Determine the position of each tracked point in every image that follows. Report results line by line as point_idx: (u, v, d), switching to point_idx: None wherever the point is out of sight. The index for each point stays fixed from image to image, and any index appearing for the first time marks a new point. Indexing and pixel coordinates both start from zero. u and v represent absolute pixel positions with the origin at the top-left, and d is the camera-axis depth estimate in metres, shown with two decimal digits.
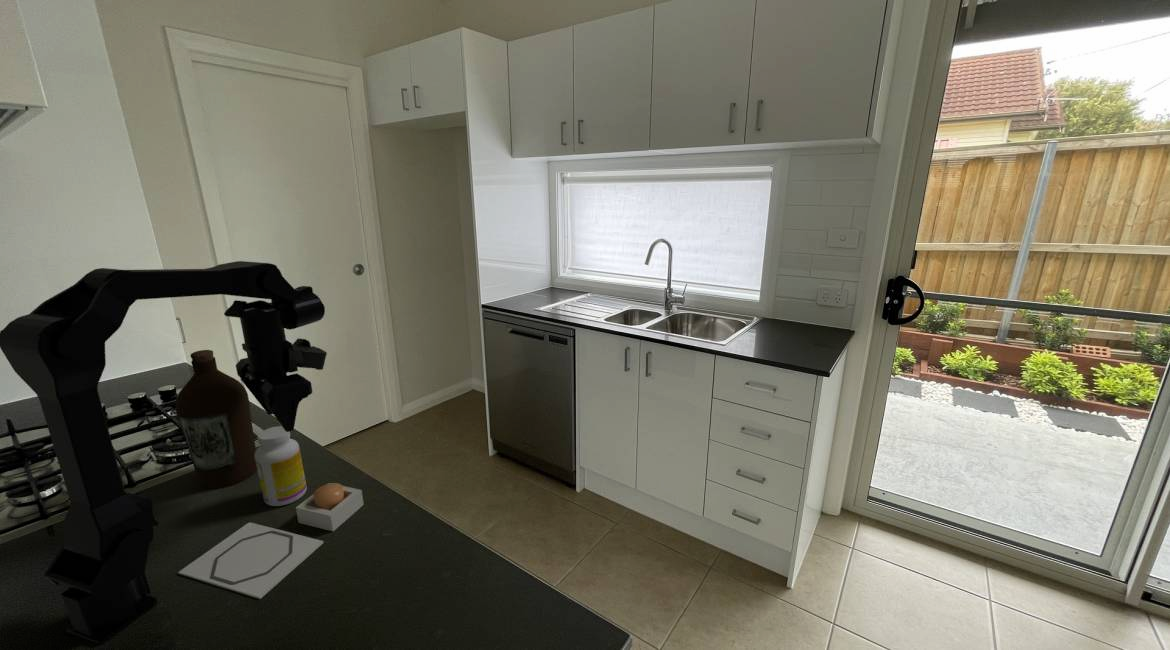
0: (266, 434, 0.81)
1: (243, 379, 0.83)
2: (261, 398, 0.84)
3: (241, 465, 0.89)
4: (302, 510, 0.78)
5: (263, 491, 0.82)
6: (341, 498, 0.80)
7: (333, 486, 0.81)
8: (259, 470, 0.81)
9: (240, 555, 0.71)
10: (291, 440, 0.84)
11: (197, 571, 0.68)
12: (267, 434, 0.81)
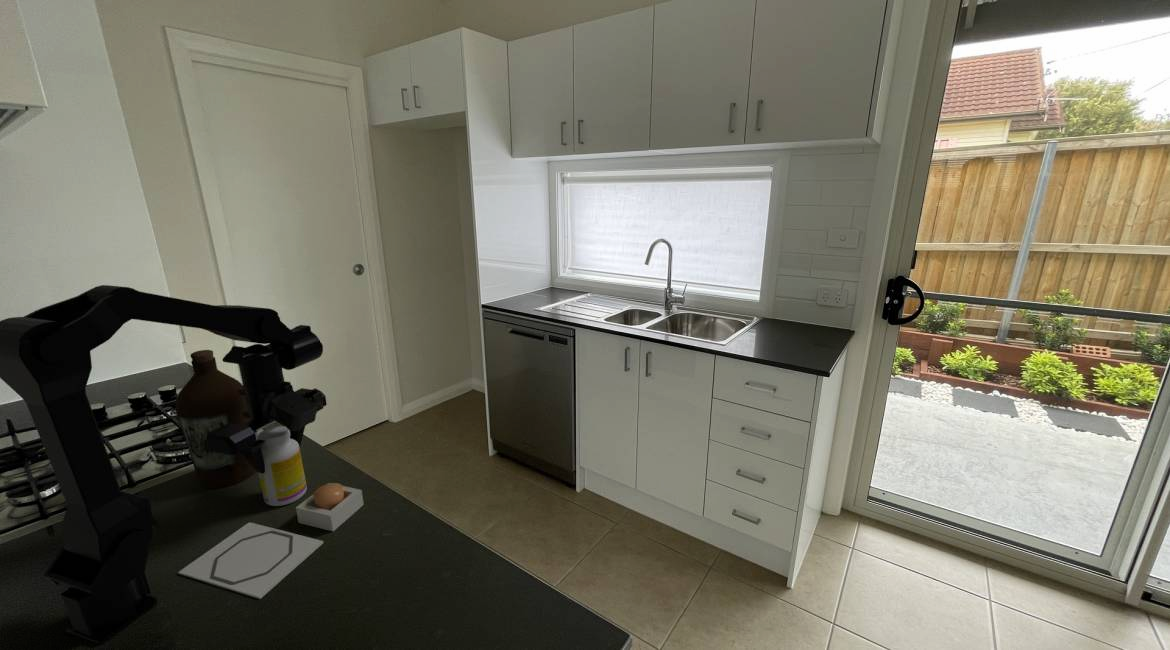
0: (266, 434, 0.81)
1: None
2: None
3: (241, 465, 0.89)
4: (302, 510, 0.78)
5: (263, 491, 0.82)
6: (341, 498, 0.80)
7: (333, 486, 0.81)
8: None
9: (240, 555, 0.71)
10: (291, 440, 0.84)
11: (197, 571, 0.68)
12: (267, 434, 0.81)
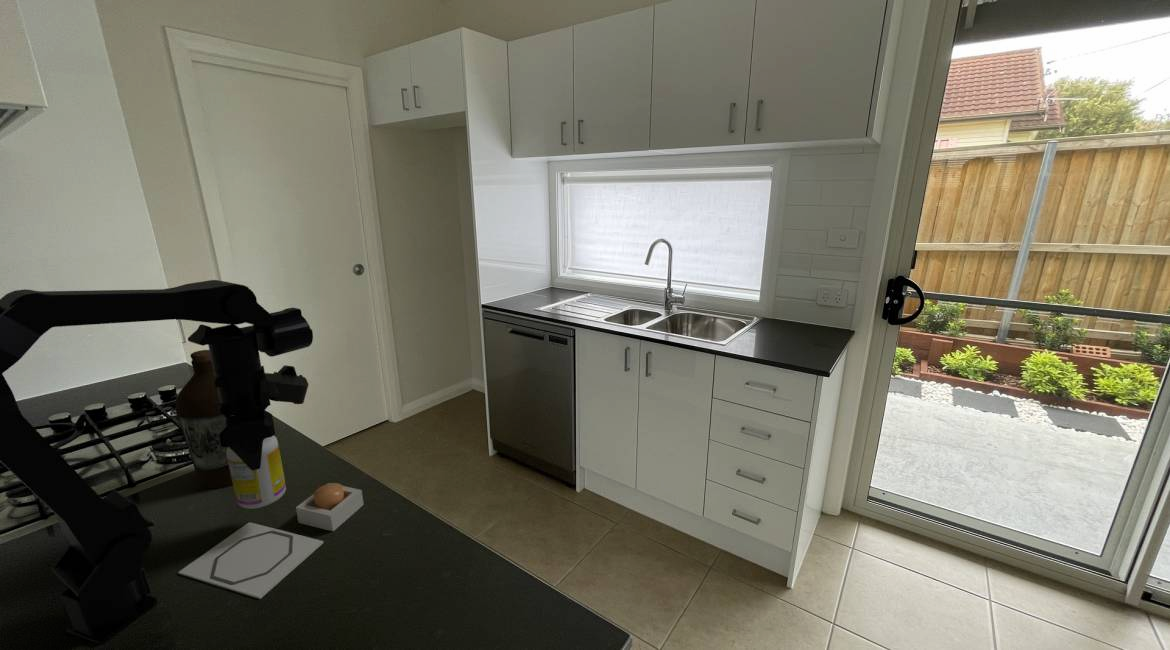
0: None
1: None
2: None
3: None
4: (302, 510, 0.78)
5: (253, 493, 0.72)
6: (341, 498, 0.80)
7: (333, 486, 0.81)
8: (249, 469, 0.71)
9: (240, 555, 0.71)
10: None
11: (197, 571, 0.68)
12: None
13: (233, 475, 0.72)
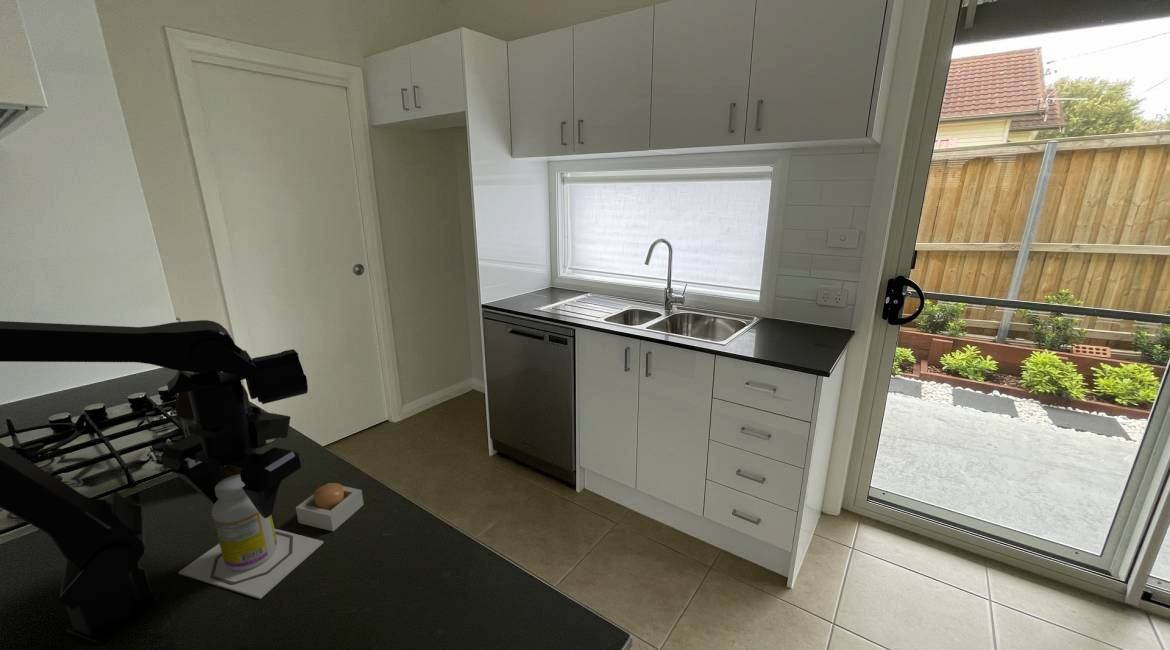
0: (234, 486, 0.67)
1: (178, 471, 0.66)
2: (206, 488, 0.68)
3: None
4: (302, 510, 0.78)
5: (259, 548, 0.69)
6: (341, 498, 0.80)
7: (333, 486, 0.81)
8: (255, 523, 0.68)
9: None
10: None
11: (197, 571, 0.68)
12: (236, 485, 0.67)
13: (233, 538, 0.66)
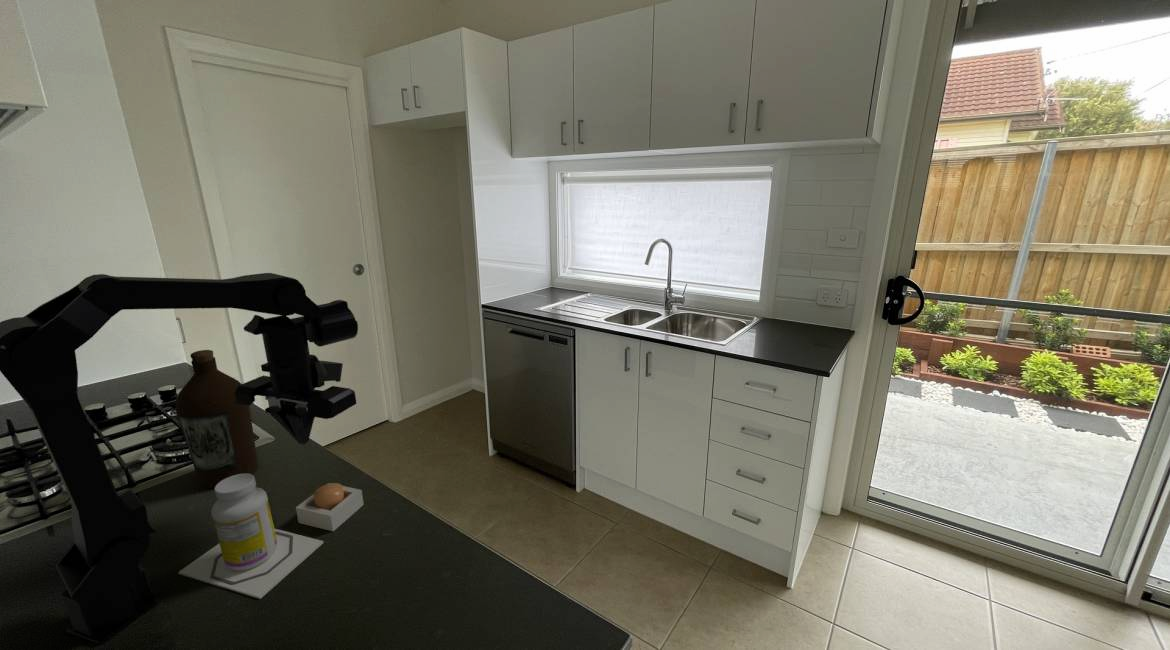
0: (234, 486, 0.67)
1: (270, 410, 0.74)
2: None
3: (241, 465, 0.89)
4: (302, 510, 0.78)
5: (259, 548, 0.69)
6: (341, 498, 0.80)
7: (333, 486, 0.81)
8: (255, 523, 0.68)
9: None
10: None
11: (197, 571, 0.68)
12: (236, 485, 0.67)
13: (233, 538, 0.66)
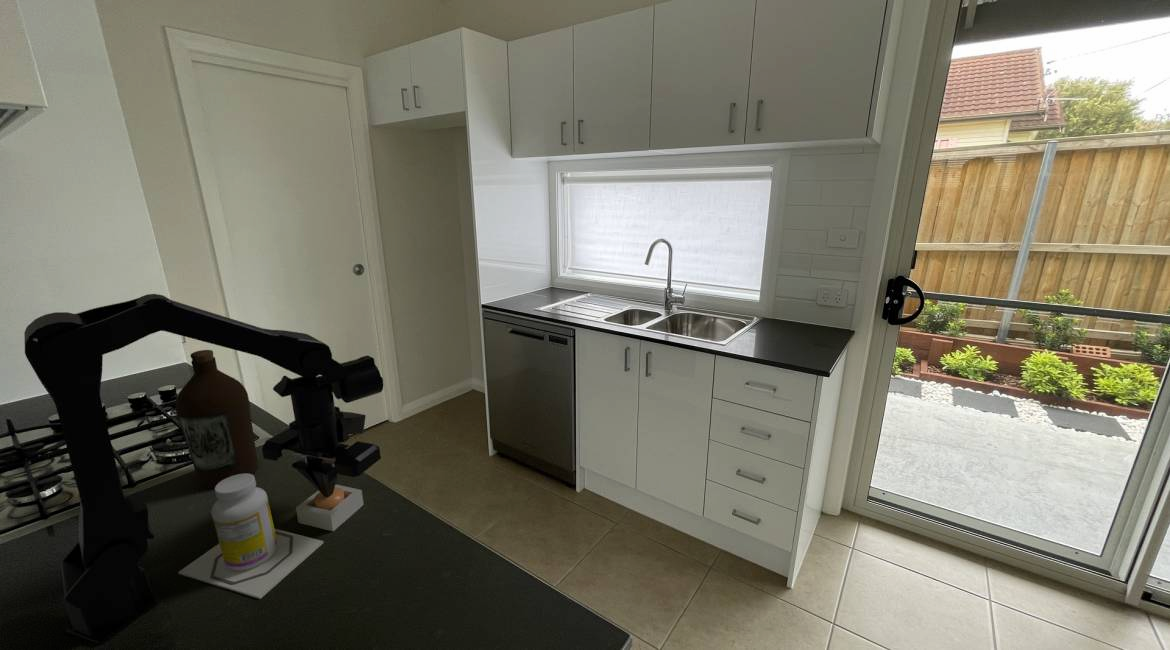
0: (234, 486, 0.67)
1: (297, 466, 0.76)
2: None
3: (241, 465, 0.89)
4: (302, 510, 0.78)
5: (259, 548, 0.69)
6: None
7: (334, 491, 0.81)
8: (255, 523, 0.68)
9: None
10: None
11: (197, 571, 0.68)
12: (236, 485, 0.67)
13: (233, 538, 0.66)
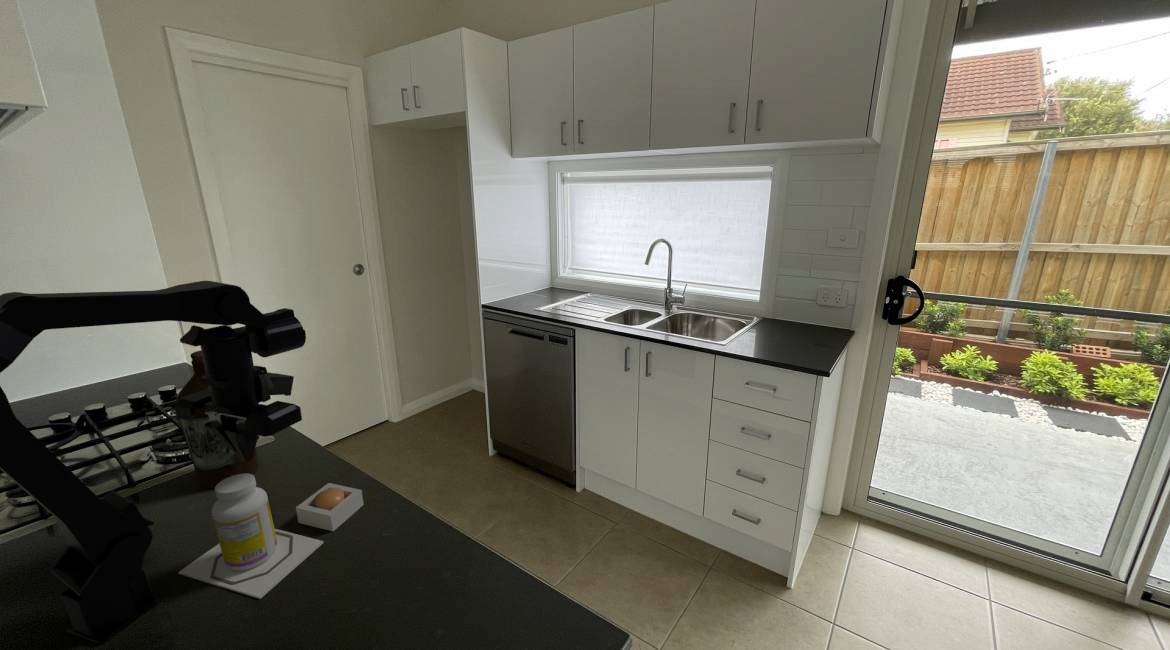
0: (234, 486, 0.67)
1: (210, 425, 0.70)
2: None
3: (241, 465, 0.89)
4: (302, 510, 0.78)
5: (259, 548, 0.69)
6: None
7: (334, 491, 0.81)
8: (255, 523, 0.68)
9: None
10: None
11: (197, 571, 0.68)
12: (236, 485, 0.67)
13: (233, 538, 0.66)
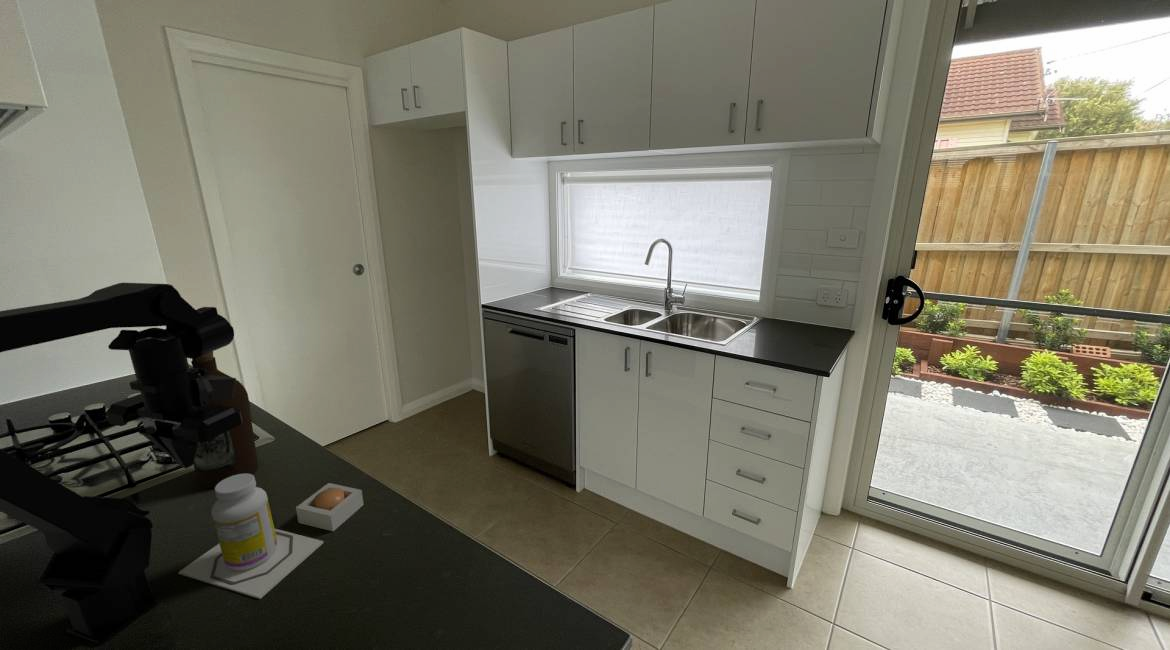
0: (234, 486, 0.67)
1: (144, 431, 0.67)
2: None
3: (241, 465, 0.89)
4: (302, 510, 0.78)
5: (259, 548, 0.69)
6: None
7: (334, 491, 0.81)
8: (255, 523, 0.68)
9: None
10: None
11: (197, 571, 0.68)
12: (236, 485, 0.67)
13: (233, 538, 0.66)
